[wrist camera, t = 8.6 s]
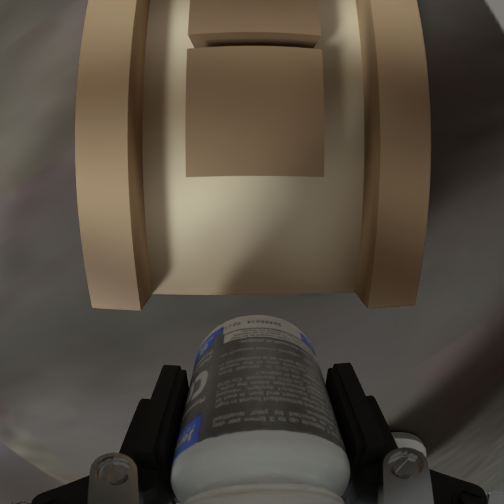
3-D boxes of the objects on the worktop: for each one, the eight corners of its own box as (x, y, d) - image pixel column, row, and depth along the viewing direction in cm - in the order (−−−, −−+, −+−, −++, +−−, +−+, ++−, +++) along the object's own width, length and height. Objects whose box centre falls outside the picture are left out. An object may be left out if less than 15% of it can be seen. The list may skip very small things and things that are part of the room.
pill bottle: (190, 313, 12) (122, 520, 4) (316, 307, 12) (400, 508, 4) (204, 406, 13) (179, 578, 5) (310, 401, 13) (349, 572, 5)
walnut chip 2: (310, 174, 11) (324, 176, 9) (196, 174, 11) (186, 177, 9) (309, 67, 10) (321, 49, 8) (197, 66, 10) (187, 48, 8)
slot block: (361, 256, 17) (414, 305, 11) (143, 257, 17) (92, 307, 11) (359, 14, 13) (406, -41, 7) (143, 14, 13) (98, -43, 7)
